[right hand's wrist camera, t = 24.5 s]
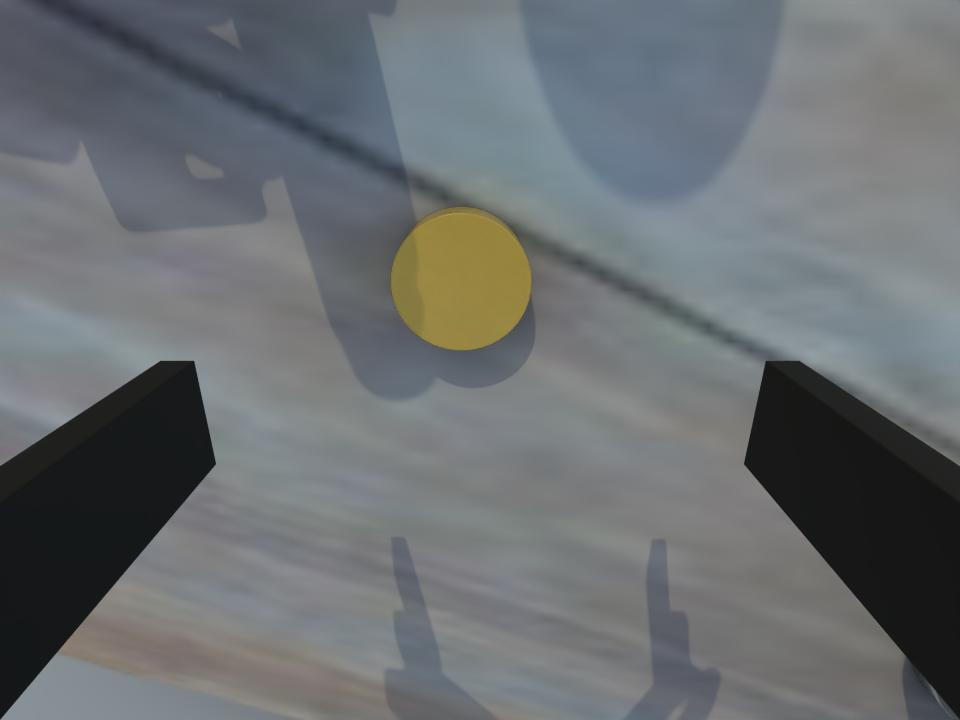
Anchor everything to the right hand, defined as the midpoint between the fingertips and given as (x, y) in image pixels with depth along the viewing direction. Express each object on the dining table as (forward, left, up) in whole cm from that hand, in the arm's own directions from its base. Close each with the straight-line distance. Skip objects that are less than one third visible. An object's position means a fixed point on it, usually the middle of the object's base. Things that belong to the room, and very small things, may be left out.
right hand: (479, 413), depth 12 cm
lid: (+1, 0, -9) cm, 9 cm away
